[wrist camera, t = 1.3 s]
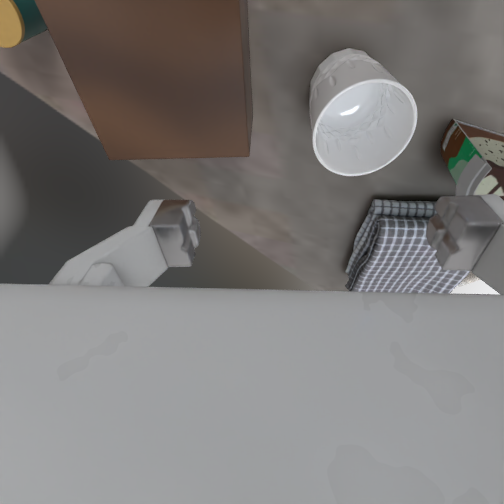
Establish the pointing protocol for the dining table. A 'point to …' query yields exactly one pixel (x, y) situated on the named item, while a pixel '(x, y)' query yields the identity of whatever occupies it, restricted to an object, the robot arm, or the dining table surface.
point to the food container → (474, 159)
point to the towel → (398, 252)
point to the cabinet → (159, 74)
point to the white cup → (358, 114)
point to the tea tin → (19, 21)
